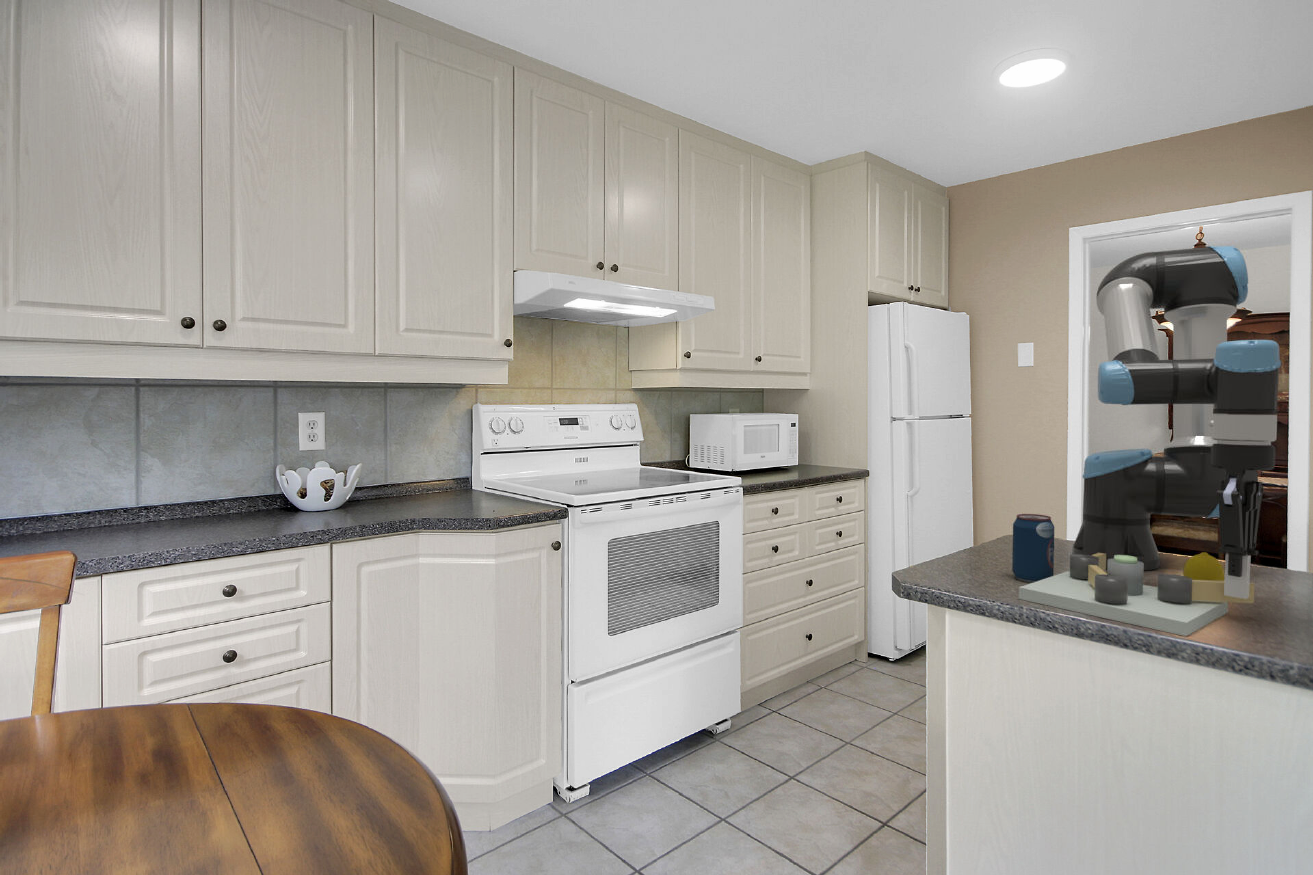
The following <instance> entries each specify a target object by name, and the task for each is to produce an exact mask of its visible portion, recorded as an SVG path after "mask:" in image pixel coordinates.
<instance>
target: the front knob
mask: <svg viewBox="0 0 1313 875" xmlns="http://www.w3.org/2000/svg"><path fill="white" fill-rule="evenodd" d="M1088 582H1089V583H1090V584H1091V585H1092V586H1093V587H1094V588H1095V597H1094V598H1095V599H1096V600H1099V601H1102V602H1107V603H1115V604H1123V603H1127V598H1128V579H1127V578H1125V577H1121V576H1116V575H1108V574H1107V572H1106V571H1105V570H1104V571H1103V570H1102V569H1100V568H1099V567H1098V566H1097V565H1088Z"/></svg>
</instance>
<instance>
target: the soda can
mask: <svg viewBox="0 0 1313 875" xmlns="http://www.w3.org/2000/svg"><path fill="white" fill-rule="evenodd" d="M1011 550H1012V553H1011V554H1012V555H1011V556H1012V558H1011V559H1012V561H1011V570H1012V573H1013V575H1014V577H1015V578H1016V579H1017V580H1019V581H1022V582H1027V583H1033V582H1037V581H1040V580H1043V579H1046V578H1049V577H1052V576H1054V571H1055V570H1054V569H1055V566H1054V565H1055V564H1054V562H1055V525H1054V523H1053V521H1052V517H1051V516H1049V515H1046V514H1045V515H1044V514H1039V513H1037V514H1036V513H1021V514H1016V519H1015V520H1014V522H1013V524H1012V549H1011Z"/></svg>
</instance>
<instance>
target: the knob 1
mask: <svg viewBox="0 0 1313 875" xmlns="http://www.w3.org/2000/svg"><path fill="white" fill-rule="evenodd" d="M1088 565H1097V566H1098V567H1099V568H1100V569H1102V570H1103V571H1104V572H1105V571H1106V569H1107V568H1106V554H1104V553H1097V554H1094V555H1083V554H1073V555H1072V554H1070V555H1069V571H1070V576H1072V577H1075V578H1079V579H1088Z"/></svg>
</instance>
